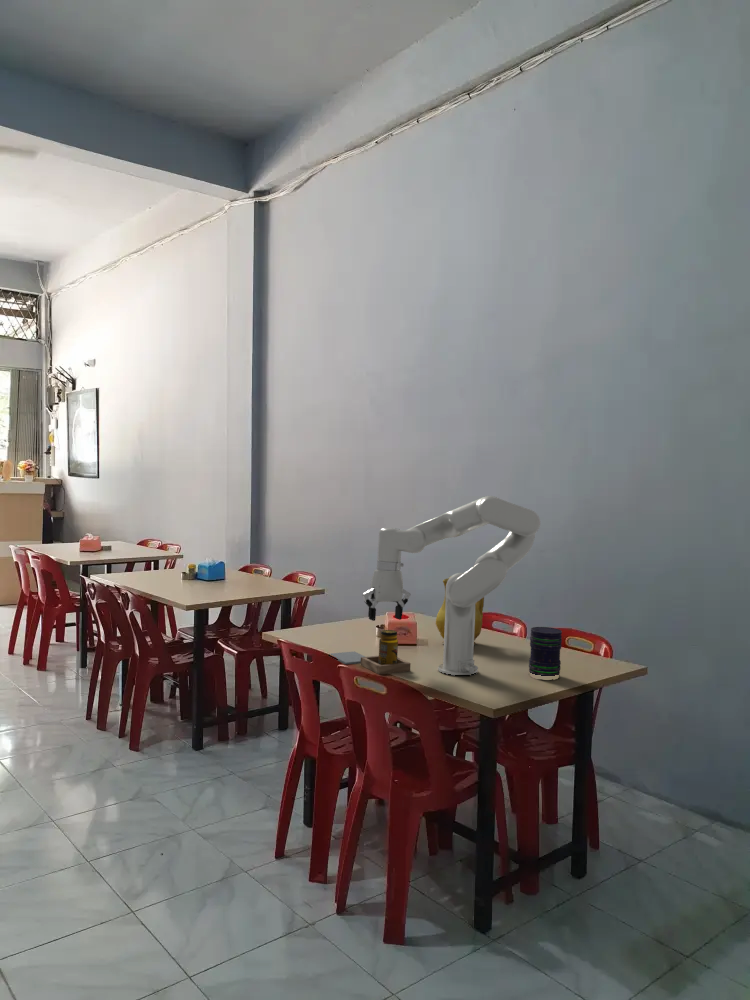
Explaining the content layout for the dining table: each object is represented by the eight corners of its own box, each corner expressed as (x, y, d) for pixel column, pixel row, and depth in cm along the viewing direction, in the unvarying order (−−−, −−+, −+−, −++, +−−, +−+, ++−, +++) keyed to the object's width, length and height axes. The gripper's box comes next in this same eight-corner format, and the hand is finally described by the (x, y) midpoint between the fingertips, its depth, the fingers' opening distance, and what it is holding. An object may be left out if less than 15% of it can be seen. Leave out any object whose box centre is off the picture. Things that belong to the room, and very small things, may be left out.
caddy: (410, 671, 246) (410, 663, 246) (379, 674, 241) (379, 666, 241) (390, 662, 257) (391, 654, 257) (360, 664, 251) (360, 657, 251)
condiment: (402, 669, 248) (403, 632, 248) (380, 672, 243) (381, 634, 243) (389, 664, 254) (390, 628, 254) (367, 667, 249) (369, 630, 249)
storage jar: (556, 673, 251) (558, 627, 250) (563, 681, 241) (565, 633, 241) (525, 671, 251) (527, 626, 250) (531, 680, 241) (533, 632, 241)
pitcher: (432, 638, 297) (434, 573, 296) (480, 640, 297) (483, 575, 297) (437, 648, 279) (440, 580, 279) (488, 650, 280) (491, 581, 279)
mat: (372, 661, 256) (372, 660, 256) (345, 664, 251) (345, 662, 251) (354, 653, 268) (354, 651, 268) (328, 655, 263) (328, 653, 263)
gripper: (405, 564, 255) (402, 616, 256) (359, 564, 247) (355, 618, 247) (417, 567, 249) (414, 620, 249) (370, 568, 240) (367, 622, 241)
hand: (385, 619), depth 248 cm, fingers open, 9 cm apart
